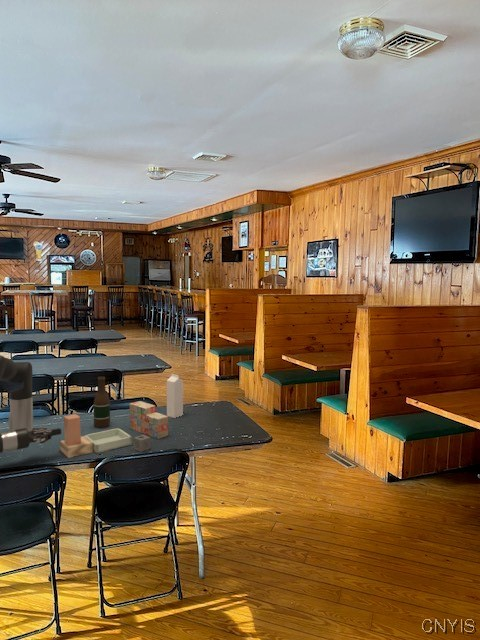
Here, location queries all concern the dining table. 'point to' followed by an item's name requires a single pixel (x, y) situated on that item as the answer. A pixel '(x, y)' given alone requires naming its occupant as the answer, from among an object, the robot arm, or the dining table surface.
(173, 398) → the milk
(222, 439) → the dining table surface
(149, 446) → the dice cube
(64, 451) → the cream wooden slab
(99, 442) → the tray
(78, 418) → the terracotta block
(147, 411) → the stack of blocks
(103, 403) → the beer bottle
